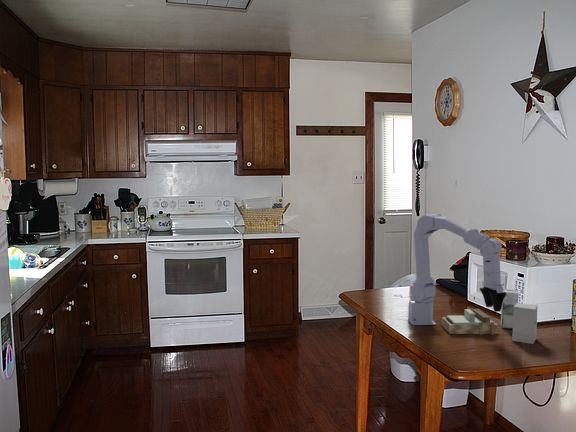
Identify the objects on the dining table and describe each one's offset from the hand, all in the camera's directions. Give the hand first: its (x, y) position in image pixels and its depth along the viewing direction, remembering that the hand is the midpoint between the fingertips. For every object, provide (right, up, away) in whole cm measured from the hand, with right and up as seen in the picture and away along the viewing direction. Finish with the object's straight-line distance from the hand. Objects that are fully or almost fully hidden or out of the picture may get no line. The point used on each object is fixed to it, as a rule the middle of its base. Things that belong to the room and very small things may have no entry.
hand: (493, 309), depth 195 cm
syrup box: (+12, -10, +15) cm, 22 cm away
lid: (-5, -7, +11) cm, 14 cm away
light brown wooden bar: (-1, -5, +11) cm, 12 cm away
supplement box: (+11, -11, -1) cm, 16 cm away
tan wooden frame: (-5, -10, +11) cm, 16 cm away
